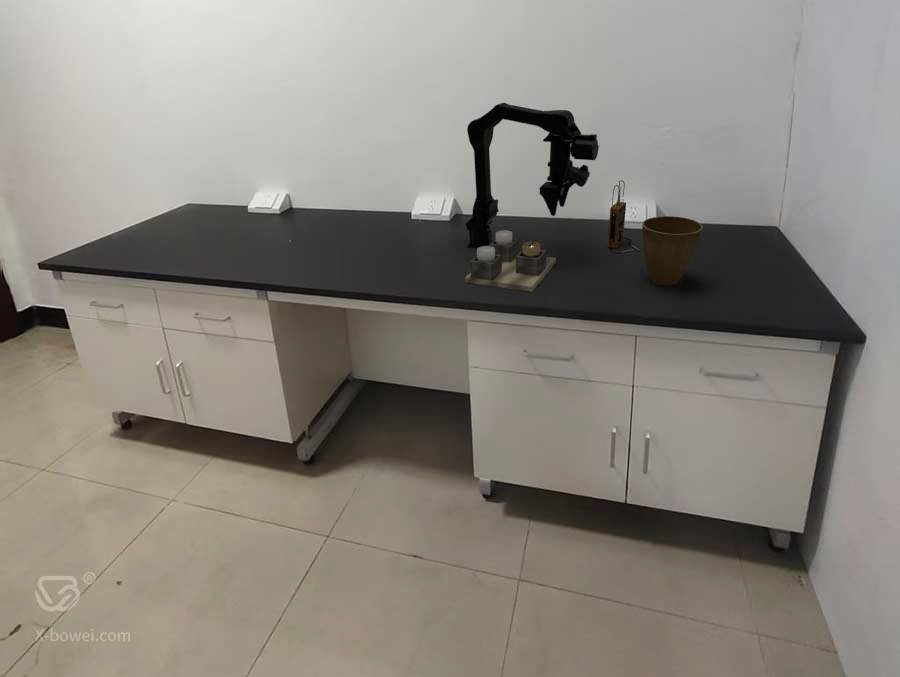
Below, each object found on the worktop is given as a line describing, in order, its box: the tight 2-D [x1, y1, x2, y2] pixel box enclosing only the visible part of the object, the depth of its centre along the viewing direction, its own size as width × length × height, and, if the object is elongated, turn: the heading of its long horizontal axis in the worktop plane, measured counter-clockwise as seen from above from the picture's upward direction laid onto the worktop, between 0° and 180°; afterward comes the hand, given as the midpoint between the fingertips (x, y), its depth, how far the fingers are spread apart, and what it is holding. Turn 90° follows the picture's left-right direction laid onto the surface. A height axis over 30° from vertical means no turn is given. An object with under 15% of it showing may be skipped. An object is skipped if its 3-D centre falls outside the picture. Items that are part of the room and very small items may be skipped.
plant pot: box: [641, 215, 703, 287], centre depth 160 cm, size 15×15×16 cm
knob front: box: [476, 246, 495, 263], centre depth 168 cm, size 5×5×5 cm
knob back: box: [495, 229, 513, 246], centre depth 179 cm, size 5×5×5 cm
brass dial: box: [521, 241, 541, 258], centre depth 169 cm, size 5×5×5 cm
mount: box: [464, 237, 557, 293], centre depth 173 cm, size 20×22×6 cm
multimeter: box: [607, 180, 640, 255], centre depth 183 cm, size 15×10×20 cm
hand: (557, 211), depth 178 cm, fingers open, 9 cm apart
